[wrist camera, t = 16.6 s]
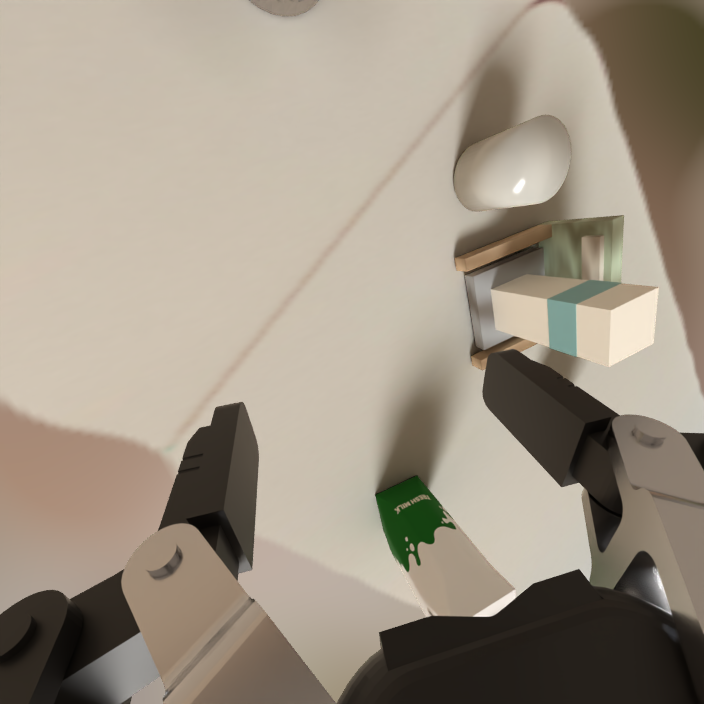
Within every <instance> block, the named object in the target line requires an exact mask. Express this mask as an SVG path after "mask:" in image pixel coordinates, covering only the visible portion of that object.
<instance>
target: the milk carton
mask: <svg viewBox="0 0 704 704" xmlns="http://www.w3.org/2000/svg"><path fill="white" fill-rule="evenodd" d="M375 496H376V500H377V505H378V509H379V513H380V518H381V522H382V526H383V530H384V533H385V535H386V538H387V541H388V544H389V547H390V550H391V552H392V554H393V556H394V558H395V560H396V562H397V563H398V565H399V567H400V569H401V571H402V573H403V575H404V577H405V579H406V580H407V582H408V584H409V586H410V588H411V590H412V592H413V594H414V595H415V597H416V599H417V601H418V603H419V605H420V607H421V609H422V610H423V612H424V614H425V616H426V617H429V616H470V617H490V616H493V615H495V614H497V613H498V612H499V611H501V610H502V609H503V608H504V607H506V606H507V605H508V604H509V603H510V602H512V601H513V600H514V599H515V598H516V589H515V588H514V587H513V586H512V585H511V584H510V583H509V582H508V581H507V580H506V579H505V578H504V577H503V576H502V575H501V574H500V573H499V572H498V571H497V570H496V569H495V568H494V567H493V566H492V565H491V564H490V563H489V562H488V561H487V560H486V558H485V557H484V556H483V555H482V553H481V552H480V551H479V550H478V549H477V547H476V546H475V545H474V544H473V543H472V541H471V540H470V539H469V538H468V537H467V535H466V534H465V533H464V532H463V530H462V529H461V528H460V527H459V526H458V524H457V523H456V522H455V521H454V520H453V518H452V517H451V516H450V515H449V513H448V512H447V511H446V510H445V509H444V508H443V506H442V505H441V504H440V503H439V501H438V500H437V499H436V498H435V497H434V495H433V494H432V493H431V492H430V491H429V489H428V488H427V487H426V486H425V484H424V483H423V482H422V481H421V480H420V478H419V477H418V476H415V477H413V478H410V479H408V480H406V481H404V482H402V483H400V484H398V485H396V486H393V487H391V488H389V489H387V490H385V491H383V492H381V493H378V494H376V495H375Z"/></svg>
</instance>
